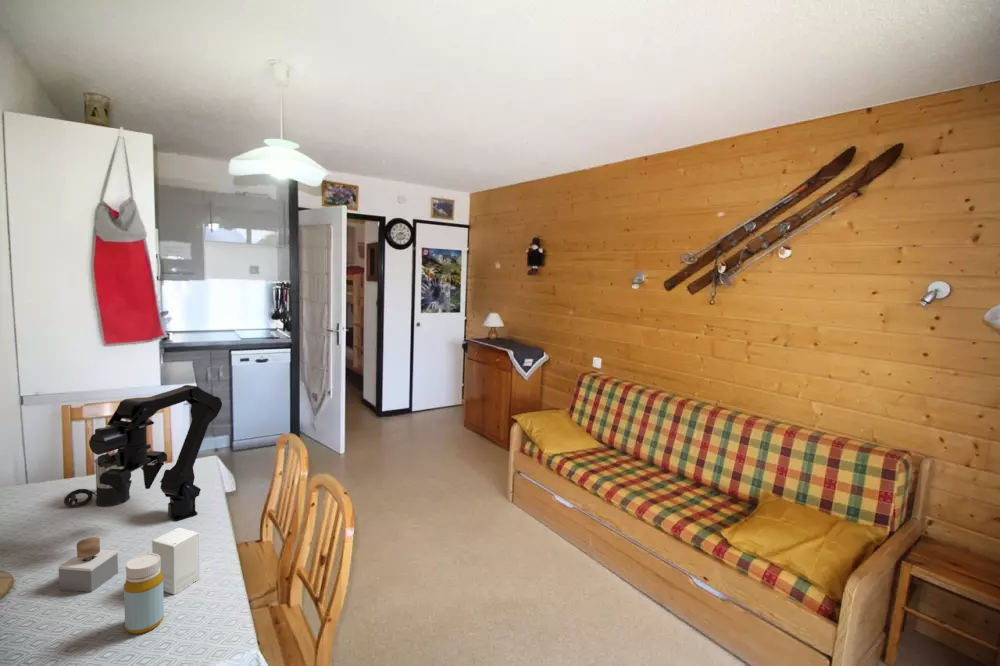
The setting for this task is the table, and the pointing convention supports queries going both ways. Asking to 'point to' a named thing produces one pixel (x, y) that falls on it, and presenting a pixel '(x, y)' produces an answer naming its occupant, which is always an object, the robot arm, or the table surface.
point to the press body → (88, 571)
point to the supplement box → (178, 558)
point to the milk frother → (103, 492)
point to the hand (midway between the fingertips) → (135, 495)
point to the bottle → (143, 593)
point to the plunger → (88, 548)
